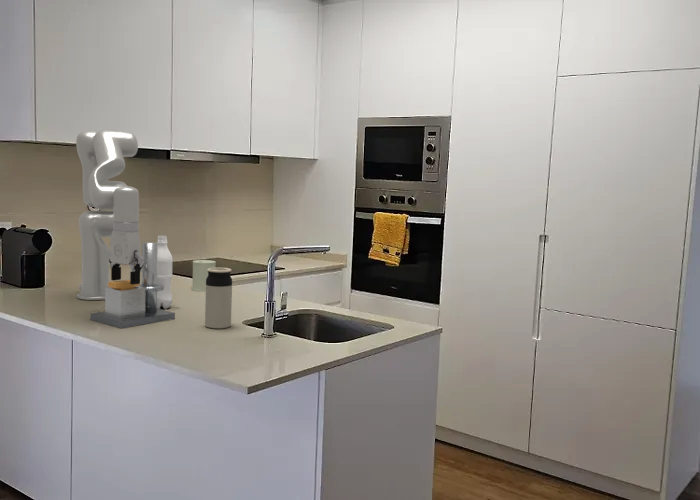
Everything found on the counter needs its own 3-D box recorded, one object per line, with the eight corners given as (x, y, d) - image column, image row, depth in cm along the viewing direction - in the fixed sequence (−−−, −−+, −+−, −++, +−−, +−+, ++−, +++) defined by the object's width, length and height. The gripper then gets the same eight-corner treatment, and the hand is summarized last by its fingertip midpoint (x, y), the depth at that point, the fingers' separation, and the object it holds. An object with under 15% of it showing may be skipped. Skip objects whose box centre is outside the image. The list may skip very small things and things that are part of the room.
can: (187, 290, 275) (187, 260, 273) (200, 287, 283) (201, 258, 282) (206, 292, 271) (207, 262, 270) (219, 289, 280) (220, 260, 278)
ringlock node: (90, 319, 215) (90, 243, 213) (145, 311, 232) (145, 240, 229) (121, 328, 206) (122, 248, 203) (176, 318, 222) (177, 244, 220)
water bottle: (176, 307, 241) (177, 235, 238) (164, 310, 234) (165, 237, 231) (158, 304, 243) (159, 234, 240) (146, 308, 236) (147, 235, 234)
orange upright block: (108, 315, 214) (108, 282, 212) (131, 311, 220) (131, 279, 219) (115, 317, 211) (115, 283, 210) (138, 313, 218) (139, 281, 217)
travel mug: (218, 330, 209) (220, 271, 207) (199, 326, 213) (200, 268, 211) (236, 326, 216) (237, 269, 214) (217, 322, 220) (218, 266, 218)
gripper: (98, 225, 215) (98, 279, 217) (132, 230, 205) (132, 287, 207) (119, 224, 221) (119, 277, 223) (153, 229, 211) (152, 284, 213)
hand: (125, 282), depth 215 cm, fingers open, 9 cm apart
